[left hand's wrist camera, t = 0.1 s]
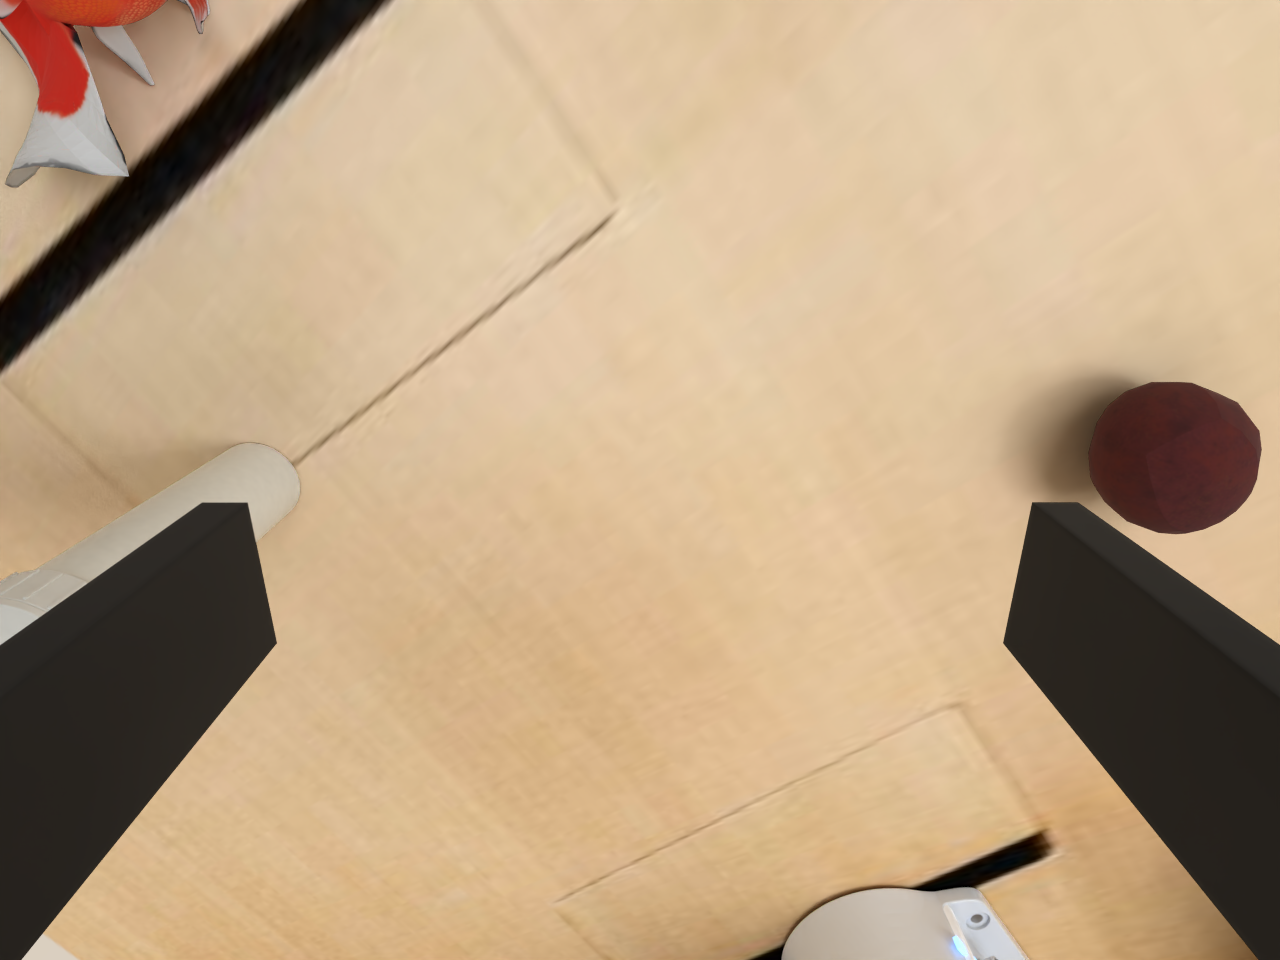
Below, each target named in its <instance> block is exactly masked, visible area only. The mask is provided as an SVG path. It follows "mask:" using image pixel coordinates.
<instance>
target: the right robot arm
mask: <svg viewBox="0 0 1280 960" xmlns="http://www.w3.org/2000/svg"><path fill="white" fill-rule="evenodd" d="M781 960H1029V958H1028V957H1027V955H1026V954H1025V953H1024V951H1023V950H1022V948H1021V947H1020V946H1019V944H1018V943H1017V941H1016V940H1015V939H1014V937H1013V936H1012V934H1011V933H1010V932H1009V930H1008V929H1007V928H1006V926H1005V925H1004V923H1003V922H1002V921H1001V919H1000V918H999V916H998V915H997V914H996V912H995V911H994V909H993V908H992V907H991V905H990V904H989V903H988V901H987V900H986V898H985V897H984V896H983V894H982V893H981V892H980V891H979V890H977V889H975V888H970V887H961V888H953V889H947V890H941V891H935V892H928V891H918V890H911V889H901V888H881V889H871V890H865V891H860V892H856V893H852V894H849V895H845V896H843V897H840V898H837V899H835V900H833V901H831V902H829V903H826V904H825V905H823V906H821V907H819V908H818V909H816V910H815V911H813V912H812V913H811V914H809V915H808V916H807V917H806V918H804V919H803V920H802V921H801V922H800V923H799V924H798V925H797V927H796V928H795V929H794V930H793V932H792V933H791V935H790V936H789V938H788V940H787V942H786V944H785V946H784V949H783V953H782V959H781Z"/></svg>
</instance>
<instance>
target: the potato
mask: <svg viewBox="0 0 1280 960" xmlns="http://www.w3.org/2000/svg"><path fill="white" fill-rule="evenodd" d="M1261 450H1262V449H1261V441H1260V433H1259V430H1258V429H1257V427H1256V426H1255V425H1254V423H1253V422H1252V421H1251V419H1250V418H1249V417H1248V415H1247V414H1246V413H1245V412H1244V410H1243V409H1242V408H1241V406H1240V405H1239V404H1238V403H1237V402H1235V401H1233V400H1231V399H1229V398H1227V397H1225V396H1223V395H1220V394H1218V393H1216V392H1213V391H1211V390H1208V389H1206V388H1203V387H1201V386H1198V385H1196V384H1193V383H1185V382H1151V383H1148V384H1145V385H1142V386H1140V387H1137V388H1134V389H1131V390H1128V391H1127V392H1125V393H1123V394H1122V395H1121V396H1119V397H1118V398H1117V399H1116V400H1114V401H1113V402H1112V403H1111V404H1110V405H1108V407H1107V408H1106V410H1105V411H1104V413H1103V414H1102V416H1101V417H1100V419H1099V420H1098V422H1097V424H1096V428H1095V431H1094V435H1093V438H1092V442H1091V445H1090V449H1089V453H1088V454H1089V467H1090V477H1091V480H1092V482H1093V484H1094V486H1095V487H1096V489H1097V491H1098V492H1099V494H1100V495H1101V497H1102V498H1103V500H1104V502H1106V503H1107V504H1108V505H1109V506H1110V507H1111V508H1112V509H1113V510H1114V511H1116V512H1117V513H1118V514H1119V515H1120V516H1121V517H1123V518H1124V519H1125V520H1126V521H1128V522H1131V523H1133V524H1136V525H1138V526H1141V527H1144V528H1147V529H1149V530H1152V531H1155V532H1158V533H1168V534H1184V533H1190V532H1194V531H1199V530H1203V529H1206V528H1208V527H1210V526H1212V525H1215V524H1217V523H1219V522H1221V521H1223V520H1224V519H1226V518H1227V517H1229V516H1230V515H1231V514H1233V513H1234V512H1236V511H1237V510H1238V509H1239V507H1240V506H1241V505H1242V504H1243V503H1244V502H1245V501H1246V500H1247V498H1248V497H1249V495H1250V494H1251V492H1252V490H1253V487H1254V485H1255V483H1256V480H1257V475H1258V468H1259V462H1260V456H1261Z"/></svg>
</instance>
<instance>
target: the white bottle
mask: <svg viewBox="0 0 1280 960" xmlns="http://www.w3.org/2000/svg"><path fill="white" fill-rule="evenodd" d="M299 495H300V481H299V477H298V475H297V472H296V470H295V468H294V467H293V465H292V464H291V463H290V461H289V460H288V459H287V458H286V457H285V456H284V455H282V454H281V453H280V452H278V451H277V450H275V449H273V448H271V447H269V446H266V445H263V444H257V443H243V444H239V445H236V446H233V447H231V448H230V449H228V450H226V451H225V452H223V453H222V454H220V455H218V456H217V457H215V458H213V459H212V460H210V461H209V462H207V463H205V464H204V465H202V466H201V467H199V468H197V469H196V470H194V471H193V472H191V473H189V474H188V475H186V476H185V477H183V478H181V479H180V480H178V481H177V482H175V483H173V484H172V485H170V486H169V487H167V488H165V489H164V490H162V491H160V492H159V493H157V494H156V495H154V496H152V497H151V498H149V499H148V500H146V501H144V502H143V503H141V504H140V505H138V506H136V507H135V508H133V509H132V510H130V511H128V512H127V513H125V514H124V515H122V516H120V517H119V518H117V519H116V520H114V521H112V522H111V523H109V524H107V525H106V526H104V527H103V528H101V529H99V530H98V531H96V532H95V533H93V534H91V535H90V536H88V537H87V538H85V539H83V540H82V541H80V542H79V543H77V544H75V545H74V546H72V547H71V548H69V549H67V550H66V551H64V552H63V553H61V554H59V555H58V556H56V557H54V558H53V559H51V560H50V561H48V562H46V563H45V564H43V565H42V566H40V567H38V568H37V569H39V570H51V571H57V572H62V573H66V574H69V575H72V576H75V577H77V578H80V579H82V580H84V581H86V582H88V583H89V582H90V581H92V580H93V579H94V578H96V577H97V576H99V575H100V574H101V573H103V572H104V571H106V570H107V569H109V568H110V567H111V566H113V565H114V564H116V563H117V562H118V561H120V560H121V559H123V558H124V557H126V556H127V555H128V554H130V553H131V552H133V551H134V550H135V549H137V548H138V547H140V546H141V545H142V544H144V543H145V542H147V541H148V540H150V539H151V538H152V537H154V536H155V535H157V534H158V533H159V532H161V531H162V530H164V529H165V528H167V527H168V526H169V525H171V524H172V523H174V522H175V521H176V520H178V519H179V518H181V517H182V516H184V515H185V514H186V513H188V512H189V511H191V510H192V509H193V508H195V507H196V506H198V505H199V504H201V503H202V502H248V506H249V511H250V516H251V521H252V525H253V530H254V535H255V540H256V542H257V541H259V540H260V539H261V538H262V537H263V536H264V535H265V534H266V533H267V532H268V531H270V530H271V529H272V528H273V527H274V526H275V525H276V524H277V523H278V522H279V521H281V520H282V519H283V518H284V517H285V516H286V515H287V514H288V513H289V512H290V511H291V510H292V509H293V508H294V507H295V505H296V504H297V502H298V499H299ZM35 570H36V569H35Z"/></svg>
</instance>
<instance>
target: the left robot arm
mask: <svg viewBox="0 0 1280 960" xmlns="http://www.w3.org/2000/svg"><path fill="white" fill-rule="evenodd" d="M276 644H277V642H276V637H275V632H274V627H273V622H272V617H271V613H270V608H269V603H268V598H267V593H266V588H265V584H264V579H263V574H262V569H261V564H260V559H259V555H258V550H257V545H256V540H255V535H254V530H253V525H252V521H251V516H250V511H249V506H248V502H202V503H201V504H199V505H198V506H196V507H195V508H193V509H192V510H191V511H189V512H188V513H186V514H185V515H184V516H182V517H181V518H179V519H178V520H176V521H175V522H174V523H172V524H171V525H169V526H168V527H167V528H165V529H164V530H162V531H161V532H159V533H158V534H157V535H155V536H154V537H152V538H151V539H150V540H148V541H147V542H145V543H144V544H142V545H141V546H140V547H138V548H137V549H135V550H134V551H133V552H131V553H130V554H128V555H127V556H126V557H124V558H123V559H121V560H120V561H118V562H117V563H116V564H114V565H113V566H111V567H110V568H109V569H107V570H106V571H104V572H103V573H101V574H100V575H99V576H97V577H96V578H94V579H93V580H92V581H90V582H89V583H87V584H86V585H84V586H83V587H82V588H80V589H79V590H77V591H76V592H75V593H73V594H72V595H70V596H69V597H67V598H66V599H65V600H63V601H62V602H60V603H59V604H58V605H56V606H55V607H53V608H52V609H50V610H49V611H48V612H46V613H45V614H43V615H42V616H41V617H39V618H38V619H36V620H35V621H34V622H32V623H31V624H29V625H28V626H26V627H25V628H24V629H22V630H21V631H19V632H18V633H17V634H15V635H14V636H12V637H11V638H9V639H8V640H7V641H5V642H4V643H2V644H1V645H0V960H22V958H23V957H24V956H25V955H26V953H27V952H28V951H29V950H30V948H31V947H32V946H33V945H34V943H35V942H36V941H37V940H38V938H39V937H40V936H41V935H42V934H43V932H44V931H45V930H46V929H47V927H48V926H49V925H50V924H51V922H52V921H53V920H54V919H55V917H56V916H57V915H58V914H59V912H60V911H61V910H62V909H63V908H64V906H65V905H66V904H67V903H68V901H69V900H70V899H71V898H72V896H73V895H74V894H75V893H76V891H77V890H78V889H79V888H80V886H81V885H82V884H83V883H84V881H85V880H86V879H87V878H88V877H89V875H90V874H91V873H92V872H93V870H94V869H95V868H96V867H97V865H98V864H99V863H100V862H101V860H102V859H103V858H104V857H105V855H106V854H107V853H108V852H109V850H110V849H111V848H112V847H113V846H114V844H115V843H116V842H117V841H118V839H119V838H120V837H121V836H122V834H123V833H124V832H125V831H126V829H127V828H128V827H129V826H130V824H131V823H132V822H133V821H134V820H135V818H136V817H137V816H138V815H139V813H140V812H141V811H142V810H143V808H144V807H145V806H146V805H147V803H148V802H149V801H150V800H151V798H152V797H153V796H154V795H155V793H156V792H157V791H158V790H159V789H160V787H161V786H162V785H163V784H164V782H165V781H166V780H167V779H168V777H169V776H170V775H171V774H172V772H173V771H174V770H175V769H176V767H177V766H178V765H179V764H180V762H181V761H182V760H183V759H184V758H185V756H186V755H187V754H188V753H189V751H190V750H191V749H192V748H193V746H194V745H195V744H196V743H197V741H198V740H199V739H200V738H201V736H202V735H203V734H204V733H205V732H206V730H207V729H208V728H209V727H210V725H211V724H212V723H213V722H214V720H215V719H216V718H217V717H218V715H219V714H220V713H221V712H222V710H223V709H224V708H225V707H226V705H227V704H228V703H229V702H230V701H231V699H232V698H233V697H234V696H235V694H236V693H237V692H238V691H239V689H240V688H241V687H242V686H243V684H244V683H245V682H246V681H247V679H248V678H249V677H250V676H251V674H252V673H253V672H254V671H255V670H256V668H257V667H258V666H259V665H260V663H261V662H262V661H263V660H264V658H265V657H266V656H267V655H268V653H269V652H270V651H271V650H272V648H273V647H274V646H275V645H276ZM1003 644H1004V645H1005V646H1006V647H1007V648H1008V650H1009V651H1010V652H1011V653H1012V655H1013V656H1014V657H1015V658H1016V660H1017V661H1018V662H1019V663H1020V665H1021V666H1022V667H1023V668H1024V670H1025V671H1026V672H1027V673H1028V674H1029V676H1030V677H1031V678H1032V679H1033V681H1034V682H1035V683H1036V684H1037V686H1038V687H1039V688H1040V689H1041V691H1042V692H1043V693H1044V694H1045V696H1046V697H1047V698H1048V699H1049V701H1050V702H1051V703H1052V704H1053V705H1054V707H1055V708H1056V709H1057V710H1058V712H1059V713H1060V714H1061V715H1062V717H1063V718H1064V719H1065V720H1066V722H1067V723H1068V724H1069V725H1070V727H1071V728H1072V729H1073V730H1074V732H1075V733H1076V734H1077V735H1078V736H1079V738H1080V739H1081V740H1082V741H1083V743H1084V744H1085V745H1086V746H1087V748H1088V749H1089V750H1090V751H1091V753H1092V754H1093V755H1094V756H1095V758H1096V759H1097V760H1098V761H1099V762H1100V764H1101V765H1102V766H1103V767H1104V769H1105V770H1106V771H1107V772H1108V774H1109V775H1110V776H1111V777H1112V779H1113V780H1114V781H1115V782H1116V784H1117V785H1118V786H1119V787H1120V789H1121V790H1122V791H1123V792H1124V793H1125V795H1126V796H1127V797H1128V798H1129V800H1130V801H1131V802H1132V803H1133V805H1134V806H1135V807H1136V808H1137V810H1138V811H1139V812H1140V813H1141V815H1142V816H1143V817H1144V818H1145V820H1146V821H1147V822H1148V823H1149V824H1150V826H1151V827H1152V828H1153V829H1154V831H1155V832H1156V833H1157V834H1158V836H1159V837H1160V838H1161V839H1162V841H1163V842H1164V843H1165V844H1166V846H1167V847H1168V848H1169V849H1170V850H1171V852H1172V853H1173V854H1174V855H1175V857H1176V858H1177V859H1178V860H1179V862H1180V863H1181V864H1182V865H1183V867H1184V868H1185V869H1186V870H1187V872H1188V873H1189V874H1190V875H1191V877H1192V878H1193V879H1194V880H1195V881H1196V883H1197V884H1198V885H1199V886H1200V888H1201V889H1202V890H1203V891H1204V893H1205V894H1206V895H1207V896H1208V898H1209V899H1210V900H1211V901H1212V903H1213V904H1214V905H1215V906H1216V908H1217V909H1218V910H1219V911H1220V912H1221V914H1222V915H1223V916H1224V917H1225V919H1226V920H1227V921H1228V922H1229V924H1230V925H1231V926H1232V927H1233V929H1234V930H1235V931H1236V932H1237V934H1238V935H1239V936H1240V937H1241V938H1242V940H1243V941H1244V942H1245V943H1246V945H1247V946H1248V947H1249V948H1250V950H1251V951H1252V952H1253V953H1254V955H1255V956H1256V957H1257V958H1258V960H1280V645H1279V644H1278V643H1276V642H1275V641H1273V640H1272V639H1271V638H1269V637H1268V636H1266V635H1265V634H1263V633H1262V632H1261V631H1259V630H1258V629H1256V628H1255V627H1254V626H1252V625H1251V624H1249V623H1248V622H1246V621H1245V620H1244V619H1242V618H1241V617H1239V616H1238V615H1237V614H1235V613H1234V612H1232V611H1231V610H1230V609H1228V608H1227V607H1225V606H1224V605H1222V604H1221V603H1220V602H1218V601H1217V600H1215V599H1214V598H1213V597H1211V596H1210V595H1208V594H1207V593H1205V592H1204V591H1203V590H1201V589H1200V588H1198V587H1197V586H1196V585H1194V584H1193V583H1191V582H1190V581H1188V580H1187V579H1186V578H1184V577H1183V576H1181V575H1180V574H1179V573H1177V572H1176V571H1174V570H1173V569H1171V568H1170V567H1169V566H1167V565H1166V564H1164V563H1163V562H1162V561H1160V560H1159V559H1157V558H1156V557H1154V556H1153V555H1152V554H1150V553H1149V552H1147V551H1146V550H1145V549H1143V548H1142V547H1140V546H1139V545H1138V544H1136V543H1135V542H1133V541H1132V540H1130V539H1129V538H1128V537H1126V536H1125V535H1123V534H1122V533H1121V532H1119V531H1118V530H1116V529H1115V528H1113V527H1112V526H1111V525H1109V524H1108V523H1106V522H1105V521H1104V520H1102V519H1101V518H1099V517H1098V516H1096V515H1095V514H1094V513H1092V512H1091V511H1089V510H1088V509H1087V508H1085V507H1084V506H1082V505H1081V504H1079V503H1078V502H1032V506H1031V511H1030V516H1029V521H1028V525H1027V530H1026V535H1025V540H1024V545H1023V550H1022V555H1021V559H1020V564H1019V569H1018V574H1017V579H1016V584H1015V588H1014V593H1013V598H1012V603H1011V608H1010V613H1009V617H1008V622H1007V627H1006V632H1005V637H1004V642H1003Z"/></svg>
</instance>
